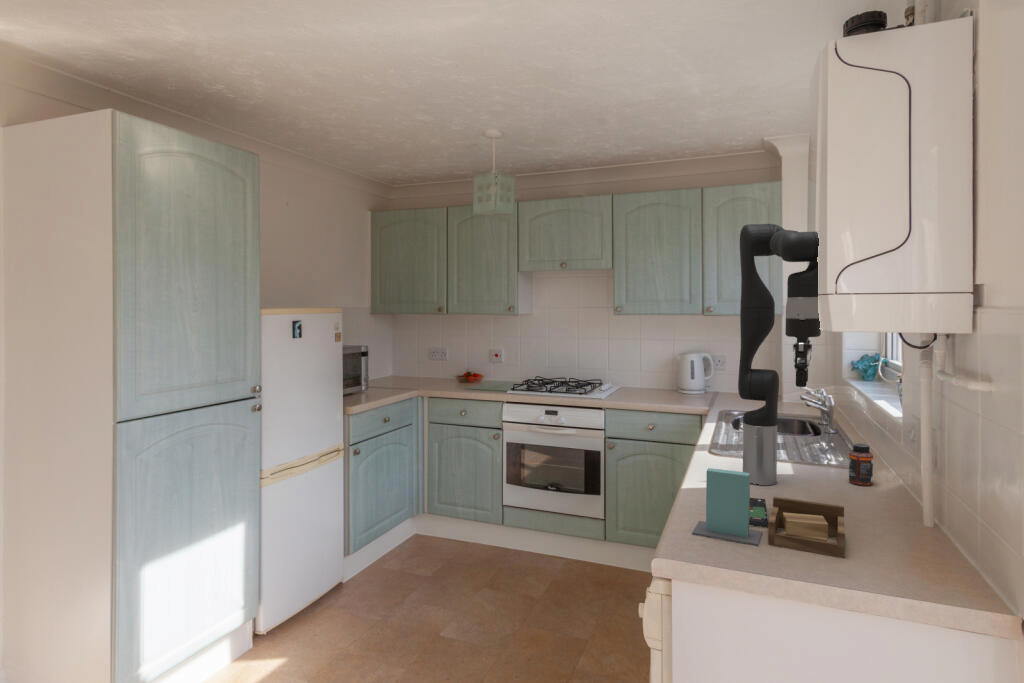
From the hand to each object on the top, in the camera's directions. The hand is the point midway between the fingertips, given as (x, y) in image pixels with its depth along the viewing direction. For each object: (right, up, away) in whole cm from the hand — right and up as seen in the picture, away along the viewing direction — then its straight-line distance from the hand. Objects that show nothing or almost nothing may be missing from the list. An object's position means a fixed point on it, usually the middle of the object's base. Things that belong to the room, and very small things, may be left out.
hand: (801, 384), depth 137 cm
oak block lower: (-5, -34, -12) cm, 37 cm away
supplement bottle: (+32, -31, +29) cm, 53 cm away
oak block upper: (-5, -31, -12) cm, 34 cm away
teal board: (-20, -33, -6) cm, 39 cm away
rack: (-4, -34, -10) cm, 36 cm away
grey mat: (-20, -34, -6) cm, 40 cm away
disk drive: (-11, -34, +6) cm, 36 cm away
